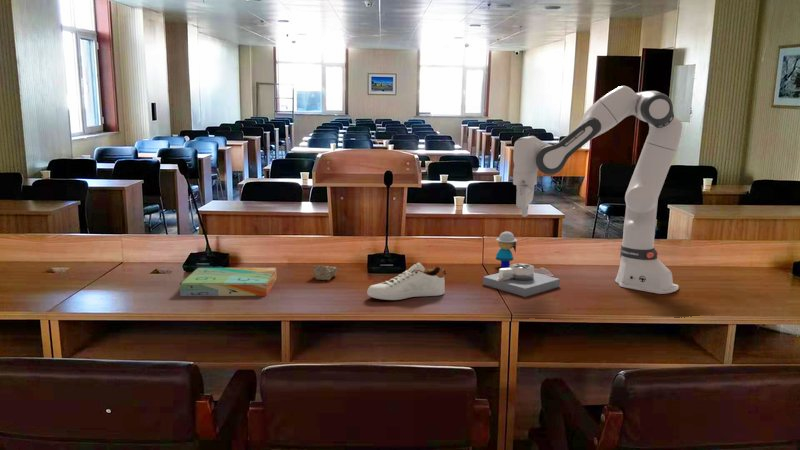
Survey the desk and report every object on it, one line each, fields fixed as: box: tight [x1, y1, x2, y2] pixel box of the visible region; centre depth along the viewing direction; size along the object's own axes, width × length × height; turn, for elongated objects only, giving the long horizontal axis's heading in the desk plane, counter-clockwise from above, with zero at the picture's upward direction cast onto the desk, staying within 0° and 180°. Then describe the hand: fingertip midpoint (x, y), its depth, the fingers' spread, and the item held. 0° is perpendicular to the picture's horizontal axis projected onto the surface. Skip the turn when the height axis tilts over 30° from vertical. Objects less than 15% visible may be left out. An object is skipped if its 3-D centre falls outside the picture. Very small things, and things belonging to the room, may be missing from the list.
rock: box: [312, 265, 339, 281], centre depth 244 cm, size 10×8×8 cm
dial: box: [498, 262, 535, 280], centre depth 233 cm, size 14×9×4 cm, turn 112°
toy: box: [495, 231, 518, 268], centre depth 261 cm, size 8×9×15 cm
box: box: [179, 267, 277, 297], centre depth 231 cm, size 22×5×30 cm
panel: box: [482, 272, 561, 298], centre depth 235 cm, size 20×20×4 cm
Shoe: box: [366, 262, 446, 301], centre depth 221 cm, size 10×29×12 cm, turn 112°
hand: (524, 216), depth 238 cm, fingers closed
